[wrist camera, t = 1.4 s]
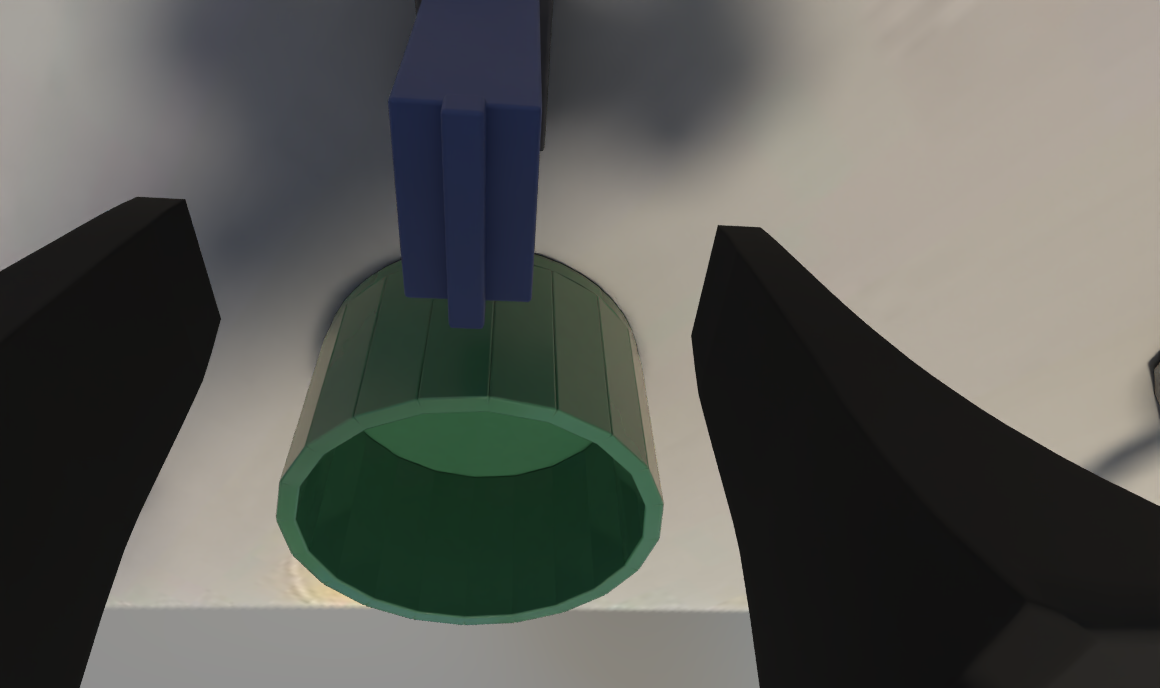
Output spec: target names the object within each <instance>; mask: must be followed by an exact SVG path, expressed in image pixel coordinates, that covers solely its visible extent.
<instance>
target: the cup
mask: <svg viewBox="0 0 1160 688" xmlns="http://www.w3.org/2000/svg"><path fill="white" fill-rule="evenodd" d="M663 506H664V502H663V496H662V489H661V483H660V477H659V471H658V464H657V458H656V452H655V446H654V439H653V433H652V427H651V421H650V414H649V408H648V402H647V396H646V389H645V383H644V377H643V371H642V364H641V361H640V358H639V356H638V352H637V346H636V342H635V339H634V336H633V333H632V330H631V328H630V326H629V324H628V322H627V320H626V319H625V317H624V315H623V313H622V312H621V311H620V310H619V308H618V307H617V306H616V304H615V303H614V302H613V301H612V299H611V298H610V297H608V296H607V295H606V294H605V293H604V292H603V291H602V290H601V289H600V288H599V287H598V286H597V285H595V284H594V283H593V282H591V281H590V280H588V279H587V278H586V277H584V276H583V275H581V274H580V273H578V272H576V271H574V270H572V269H570V268H568V267H567V266H565V265H563V264H560V263H558V262H555V261H553V260H550V259H548V258H545V257H543V256H539V255H536V254H534V267H533V285H532V299H531V300H530V301H529V302H516V301H489V300H486V308H485V322H484V326H483V328H481V329H466V328H451V327H450V325H449V321H448V299H435V298H408V297H406V296H405V294H404V283H403V272H402V260H400V261H398V262H396V263H393V264H391V265H389V266H387V267H385V268H383V269H382V270H380V271H379V272H377V273H375V274H374V275H372V276H370V277H369V278H368V279H367V280H365V281H364V282H363V283H362V284H361V285H359V286H358V287H357V288H356V289H355V290H354V291H353V292H352V293H351V294H350V295H349V296H348V298H347V299H346V300H345V301H344V302H343V303H342V305H341V307H340V308H339V310H338V311H337V313H336V315H335V316H334V319H333V321H332V324H331V326H330V329H329V331H328V333H327V334H326V336H325V338H324V341H323V344H322V347H321V351H320V354H319V357H318V360H317V363H316V367H315V370H314V373H313V376H312V379H311V383H310V386H309V389H308V392H307V395H306V399H305V402H304V405H303V408H302V411H301V415H300V418H299V421H298V424H297V427H296V431H295V434H294V437H293V440H292V443H291V447H290V450H289V453H288V456H287V459H286V463H285V466H284V469H283V472H282V475H281V479H280V482H279V491H278V501H277V511H276V519H277V523H278V525H279V527H280V530H281V532H282V534H283V536H284V538H285V541H286V543H287V545H288V547H289V549H290V552H291V554H293V556H294V557H295V558H296V559H297V560H298V561H299V562H300V563H301V564H302V565H303V566H304V567H306V568H307V569H308V570H309V571H310V572H311V573H312V574H313V575H314V576H315V577H316V578H317V579H318V580H319V581H320V582H322V583H324V585H326V586H328V587H330V588H332V589H334V590H336V591H338V592H340V593H342V594H343V595H345V596H347V597H349V598H351V599H353V600H355V601H357V602H359V603H361V604H362V605H366V606H368V607H371V608H375V609H378V610H382V611H385V612H389V613H392V614H396V615H399V616H402V617H406V618H409V619H414V620H422V621H431V622H440V623H450V624H458V625H477V624H500V623H514V622H521V621H526V620H531V619H536V618H540V617H545V616H550V615H554V614H559V613H562V612H566V611H568V610H571V609H573V608H575V607H578V606H580V605H582V604H585V603H587V602H590V601H592V600H594V599H597V598H599V597H601V596H604V595H605V594H607V593H609V592H610V591H611V590H613V589H614V588H615V587H617V586H618V585H619V584H621V583H622V582H623V581H625V580H626V579H627V578H629V577H630V576H631V575H633V574H634V573H635V572H637V571H638V569H640V567H641V566H642V564H643V563H644V561H645V560H646V558H647V557H648V555H649V554H650V552H651V551H652V549H653V548H654V546H655V545H656V543H657V542H658V540H659V538H660V532H661V523H662V515H663Z"/></svg>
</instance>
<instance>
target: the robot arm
mask: <svg viewBox="0 0 1160 688" xmlns="http://www.w3.org/2000/svg"><path fill="white" fill-rule="evenodd" d="M220 320H221V318H220V314H219V311H218V308H217V304H216V301H215V298H214V294H213V291H212V288H211V284H210V281H209V277H208V274H207V271H206V267H205V264H204V261H203V257H202V254H201V251H200V247H199V244H198V240H197V237H196V234H195V230H194V227H193V224H192V220H191V217H190V214H189V210H188V207H187V204H186V200H185V199H169V198H149V197H136V198H134V199H131V200H129V201H127V202H125V203H122V204H120V205H118V206H116V207H114V208H112V209H110V210H109V211H107V212H105V213H103V214H101V215H99V216H97V217H96V218H94V219H92V220H90V221H88V222H87V223H85V224H83V225H81V226H79V227H78V228H76V229H74V230H72V231H71V232H69V233H67V234H65V235H64V236H62V237H60V238H58V239H57V240H55V241H53V242H51V243H50V244H48V245H46V246H44V247H43V248H41V249H39V250H37V251H36V252H34V253H32V254H30V255H28V256H27V257H25V258H23V259H21V260H20V261H18V262H16V263H14V264H13V265H11V266H9V267H7V268H6V269H4V270H2V271H0V688H80V685H81V681H82V678H83V675H84V672H85V669H86V665H87V662H88V659H89V656H90V652H91V649H92V646H93V643H94V639H95V636H96V633H97V629H98V627H99V623H100V620H101V617H102V614H103V611H104V608H105V605H106V602H107V599H108V596H109V593H110V590H111V588H112V585H113V582H114V579H115V576H116V573H117V570H118V567H119V564H120V561H121V558H122V555H123V553H124V550H125V547H126V545H127V542H128V540H129V537H130V535H131V533H132V530H133V528H134V526H135V523H136V521H137V518H138V516H139V514H140V512H141V510H142V508H143V506H144V504H145V501H146V499H147V497H148V495H149V493H150V491H151V489H152V487H153V485H154V483H155V481H156V479H157V477H158V474H159V472H160V470H161V468H162V466H163V464H164V462H165V460H166V458H167V456H168V454H169V452H170V449H171V447H172V445H173V443H174V441H175V439H176V437H177V435H178V433H179V431H180V429H181V427H182V424H183V422H184V420H185V418H186V416H187V414H188V412H189V409H190V407H191V405H192V403H193V401H194V399H195V397H196V394H197V392H198V390H199V388H200V386H201V383H202V381H203V378H204V375H205V372H206V369H207V366H208V362H209V359H210V356H211V353H212V349H213V346H214V342H215V338H216V335H217V331H218V327H219V324H220ZM691 337H692V346H693V355H694V364H695V372H696V379H697V386H698V393H699V398H700V402H701V406H702V409H703V413H704V417H705V421H706V425H707V428H708V432H709V436H710V440H711V443H712V447H713V451H714V454H715V458H716V462H717V465H718V469H719V473H720V476H721V480H722V483H723V487H724V491H725V494H726V498H727V502H728V505H729V509H730V513H731V516H732V520H733V524H734V528H735V533H736V537H737V542H738V546H739V551H740V556H741V563H742V569H743V575H744V581H745V588H746V594H747V600H748V607H749V613H750V619H751V627H752V634H753V642H754V649H755V655H756V663H757V670H758V678H759V686H760V688H1160V506H1158V505H1156V504H1154V503H1152V502H1150V501H1148V500H1146V499H1144V498H1142V497H1140V496H1138V495H1136V494H1134V493H1132V492H1130V491H1127V490H1125V489H1123V488H1121V487H1119V486H1117V485H1115V484H1113V483H1111V482H1109V481H1107V480H1105V479H1103V478H1101V477H1099V476H1097V475H1095V474H1093V473H1091V472H1090V471H1088V470H1086V469H1084V468H1082V467H1080V466H1078V465H1076V464H1074V463H1073V462H1071V461H1069V460H1067V459H1065V458H1063V457H1061V456H1060V455H1058V454H1056V453H1054V452H1052V451H1051V450H1049V449H1047V448H1046V447H1044V446H1042V445H1040V444H1039V443H1037V442H1035V441H1033V440H1032V439H1030V438H1028V437H1027V436H1025V435H1023V434H1021V433H1020V432H1018V431H1016V430H1015V429H1013V428H1011V427H1009V426H1008V425H1006V424H1004V423H1003V422H1001V421H1000V420H998V419H996V418H995V417H993V416H992V415H990V414H988V413H987V412H985V411H984V410H982V409H980V408H979V407H977V406H976V405H974V404H973V403H971V402H970V401H968V400H967V399H966V398H964V397H963V396H961V395H960V394H958V393H957V392H955V391H954V390H952V389H951V388H949V387H948V386H947V385H945V384H944V383H942V382H941V381H939V380H938V379H936V378H935V377H933V376H932V375H931V374H929V373H928V372H927V371H925V370H924V369H923V368H921V367H920V366H918V365H917V364H916V363H914V362H913V361H912V360H910V359H909V358H908V357H907V356H905V355H904V354H903V353H902V352H900V351H899V350H898V349H897V348H896V347H894V346H893V345H892V344H891V343H889V342H888V341H887V340H886V339H884V338H883V337H882V336H881V335H879V334H878V333H877V332H876V331H874V330H873V329H872V328H871V327H870V326H869V325H867V324H866V323H865V322H864V321H863V320H862V319H860V318H859V317H858V316H857V315H856V314H855V313H853V312H852V311H851V310H850V309H849V308H848V307H847V306H846V305H844V304H843V303H842V302H841V301H840V300H839V299H838V298H837V297H836V296H835V295H833V294H832V293H831V292H830V291H829V290H828V289H827V288H826V287H825V286H824V285H823V284H822V283H820V282H819V281H818V280H817V279H816V278H815V277H814V276H813V275H812V274H811V273H810V272H809V271H808V270H807V269H806V268H805V267H803V266H802V265H801V264H800V263H799V262H798V261H797V260H796V259H795V258H794V257H793V256H792V255H791V254H790V253H789V252H788V251H787V250H785V249H784V248H783V247H782V246H781V245H780V244H779V243H778V242H777V241H776V240H775V239H773V238H772V237H771V236H770V235H769V234H768V233H767V232H765V231H764V230H763V229H762V228H760V227H743V226H722V225H718V227H717V231H716V236H715V240H714V244H713V248H712V252H711V256H710V260H709V264H708V269H707V273H706V277H705V281H704V285H703V289H702V293H701V297H700V302H699V306H698V310H697V314H696V318H695V322H694V326H693V330H692V335H691Z"/></svg>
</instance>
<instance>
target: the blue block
mask: <svg viewBox="0 0 1160 688" xmlns="http://www.w3.org/2000/svg"><path fill="white" fill-rule="evenodd" d="M415 3H416V19H415V22H414V25H413V28H412V31H411V34H410V37H409V40H408V43H407V46H406V49H405V52H404V55H403V58H402V61H401V64H400V67H399V70H398V73H397V75H396V78H395V81H394V84H393V87H392V90H391V93H390V96H389V99H388V109H389V120H390V132H391V144H392V155H393V167H394V179H395V190H396V202H397V213H398V225H399V237H400V248H401V260H402V272H403V283H404V294H405V296H406V297H408V298H435V299H448V321H449V325H450V327H451V328H466V329H481V328H483V326H484V322H485V308H486V300H489V301H516V302H529V301H530V300H531V299H532V285H533V267H534V249H535V231H536V213H537V194H538V176H539V158H540V151H543V149H544V145H545V128H546V111H547V95H548V78H549V61H550V44H551V27H552V10H553V0H415Z"/></svg>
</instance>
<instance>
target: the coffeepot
mask: <svg viewBox="0 0 1160 688" xmlns="http://www.w3.org/2000/svg"><path fill="white" fill-rule="evenodd" d="M1154 379H1155V395H1156V398H1157V400H1158V402H1159V405H1160V362H1159V364H1158V365H1157V367H1156V368H1155V370H1154Z"/></svg>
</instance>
